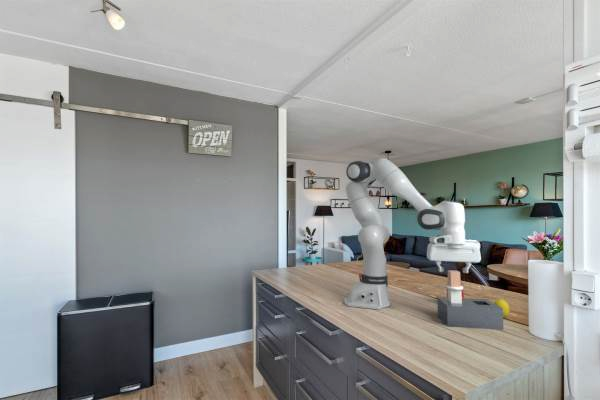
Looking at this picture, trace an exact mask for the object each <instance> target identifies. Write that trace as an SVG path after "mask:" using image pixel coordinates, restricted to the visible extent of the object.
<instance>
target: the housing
mask: <svg viewBox="0 0 600 400" xmlns="http://www.w3.org/2000/svg"><path fill="white" fill-rule="evenodd" d="M436 301H437V302H436V303H437V304H436V305H437V308H436V309H437V316H438V318H439V319H440V320H441V321H442V322H443V324H445V326H446V327H448V328H449V327H452V328H467V329H468V328H469V329H470V328H471V329H482V330H483V329H484V330H485V329H486V330H502V331H503V330H504V318H503V308H501V307H499V306H498V305H496V304H494V303H495V302H492V301H491V300H489V299H487V298H469V297H468V298H467V297H466V298H465V297H464V298H462V304H461V303H451V302H449V301H448V297H447V296H445V297H444V296H442V297H441V296H436Z"/></svg>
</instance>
